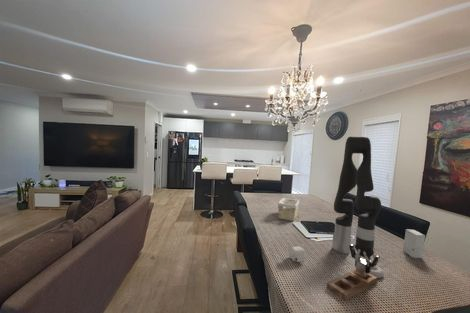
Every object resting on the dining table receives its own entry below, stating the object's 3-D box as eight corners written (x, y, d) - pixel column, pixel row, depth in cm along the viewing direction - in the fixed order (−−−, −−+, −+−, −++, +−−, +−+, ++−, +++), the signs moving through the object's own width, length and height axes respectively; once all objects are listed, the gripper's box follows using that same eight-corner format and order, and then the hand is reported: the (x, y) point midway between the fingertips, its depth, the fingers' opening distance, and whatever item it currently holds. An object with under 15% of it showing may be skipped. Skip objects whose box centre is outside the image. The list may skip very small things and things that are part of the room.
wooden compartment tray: (326, 288, 95) (327, 282, 95) (358, 273, 108) (358, 267, 108) (345, 302, 87) (346, 294, 87) (376, 283, 100) (377, 276, 100)
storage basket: (282, 211, 206) (283, 197, 205) (299, 214, 199) (299, 199, 198) (276, 218, 184) (277, 202, 183) (295, 222, 178) (296, 205, 177)
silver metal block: (355, 276, 102) (356, 260, 102) (359, 273, 104) (361, 258, 104) (364, 280, 99) (365, 264, 98) (368, 278, 101) (369, 262, 100)
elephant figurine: (295, 267, 111) (296, 251, 111) (284, 255, 123) (285, 241, 122) (310, 265, 114) (311, 249, 113) (298, 253, 125) (299, 239, 125)
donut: (356, 270, 111) (375, 281, 102) (357, 264, 111) (376, 274, 102) (368, 266, 115) (387, 276, 106) (369, 260, 115) (388, 270, 106)
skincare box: (402, 251, 134) (404, 228, 133) (411, 251, 134) (413, 229, 133) (413, 258, 126) (415, 234, 125) (423, 258, 126) (425, 234, 125)
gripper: (346, 232, 105) (344, 264, 106) (377, 244, 92) (374, 281, 93) (354, 229, 108) (352, 261, 109) (385, 241, 96) (382, 276, 97)
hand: (362, 270), depth 101 cm, fingers closed on silver metal block, 4 cm apart
